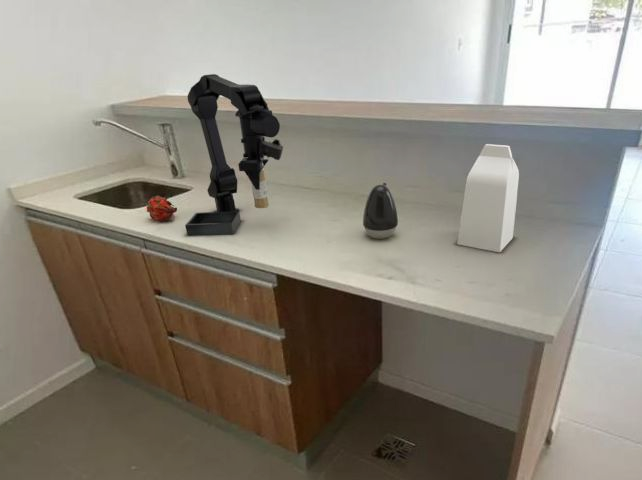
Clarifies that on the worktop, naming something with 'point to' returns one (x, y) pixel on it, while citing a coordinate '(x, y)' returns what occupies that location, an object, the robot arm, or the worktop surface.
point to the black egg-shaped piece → (380, 213)
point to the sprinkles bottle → (261, 193)
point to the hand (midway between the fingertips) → (259, 187)
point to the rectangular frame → (213, 223)
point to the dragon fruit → (160, 208)
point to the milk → (490, 200)
